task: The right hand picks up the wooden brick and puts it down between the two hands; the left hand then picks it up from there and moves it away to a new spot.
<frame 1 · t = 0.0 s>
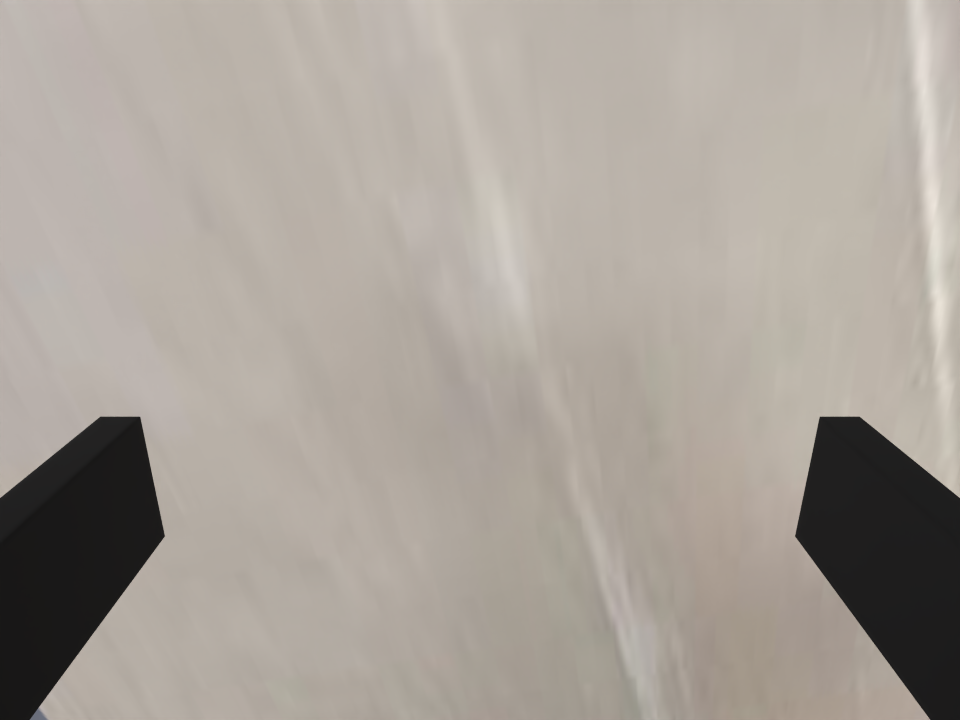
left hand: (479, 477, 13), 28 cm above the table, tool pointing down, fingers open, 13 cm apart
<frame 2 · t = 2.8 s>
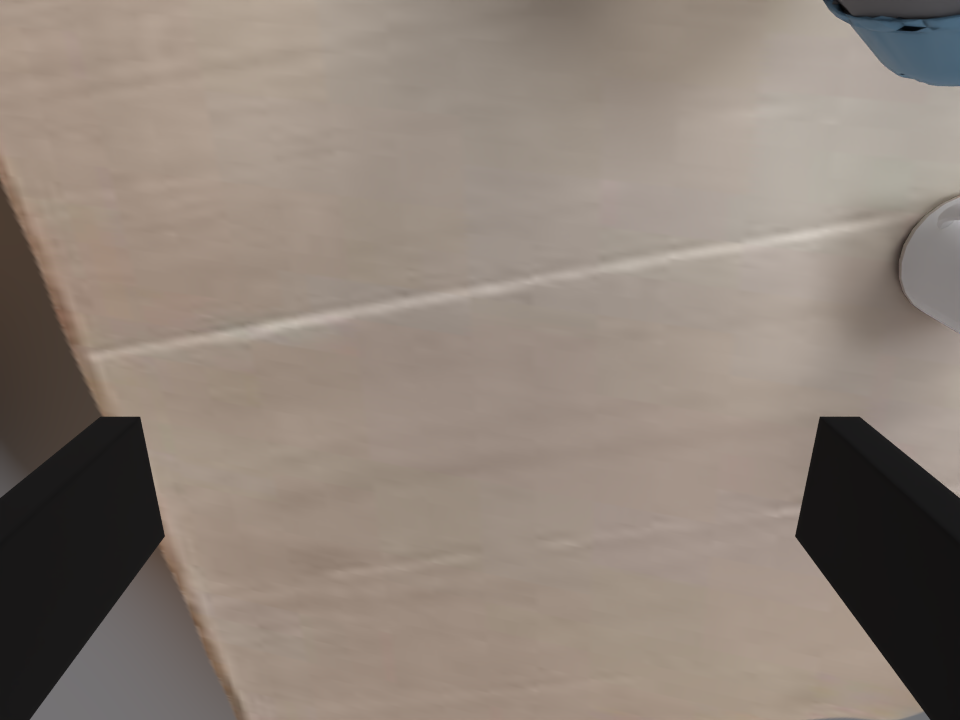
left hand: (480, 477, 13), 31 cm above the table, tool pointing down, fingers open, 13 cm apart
mug: (949, 244, 42), on the table
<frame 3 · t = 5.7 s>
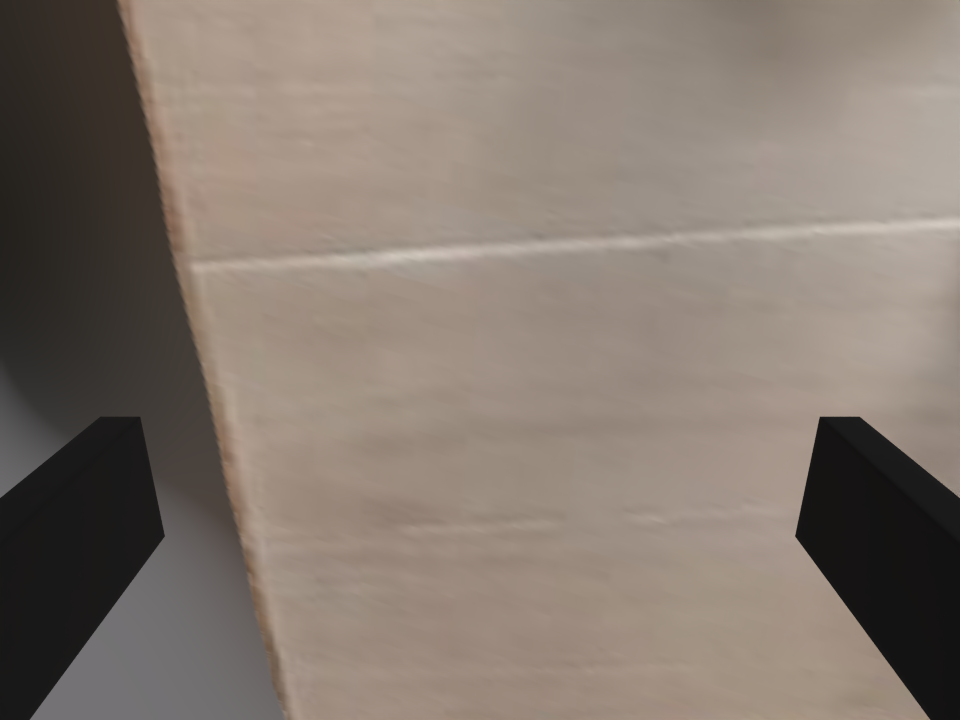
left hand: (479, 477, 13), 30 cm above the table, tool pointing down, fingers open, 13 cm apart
when the right hand's fingers open (3 cm above the table, at t = 8.9 s): brick drops 2 cm, on the table.
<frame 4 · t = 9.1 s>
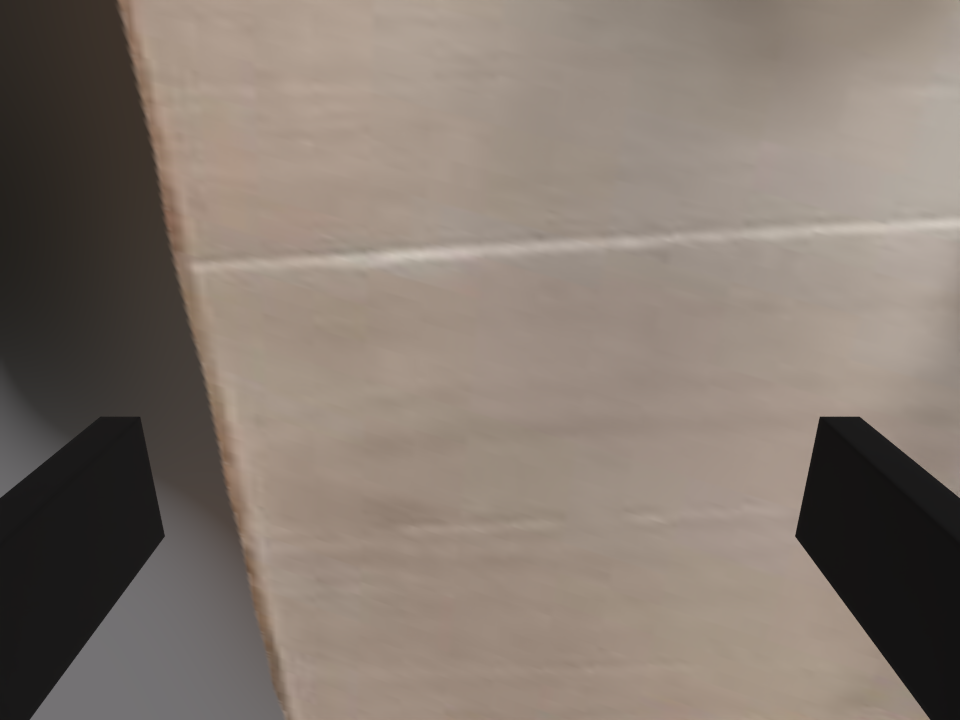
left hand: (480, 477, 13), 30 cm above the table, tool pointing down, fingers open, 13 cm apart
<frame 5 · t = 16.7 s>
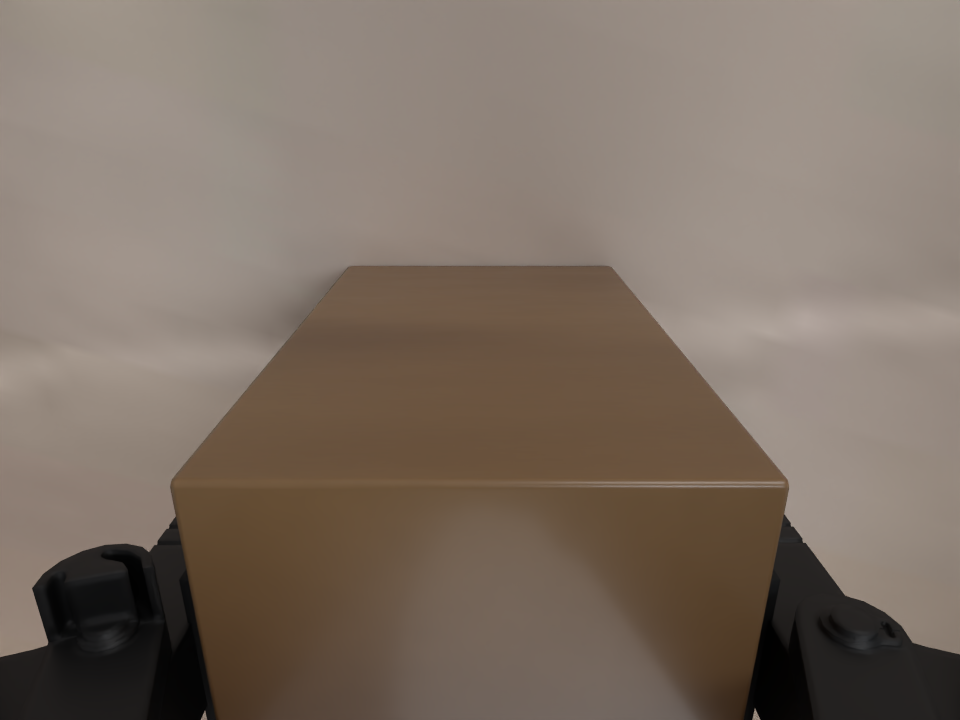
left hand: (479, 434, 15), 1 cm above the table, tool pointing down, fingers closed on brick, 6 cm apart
brick: (480, 406, 16), on the table, touching left hand
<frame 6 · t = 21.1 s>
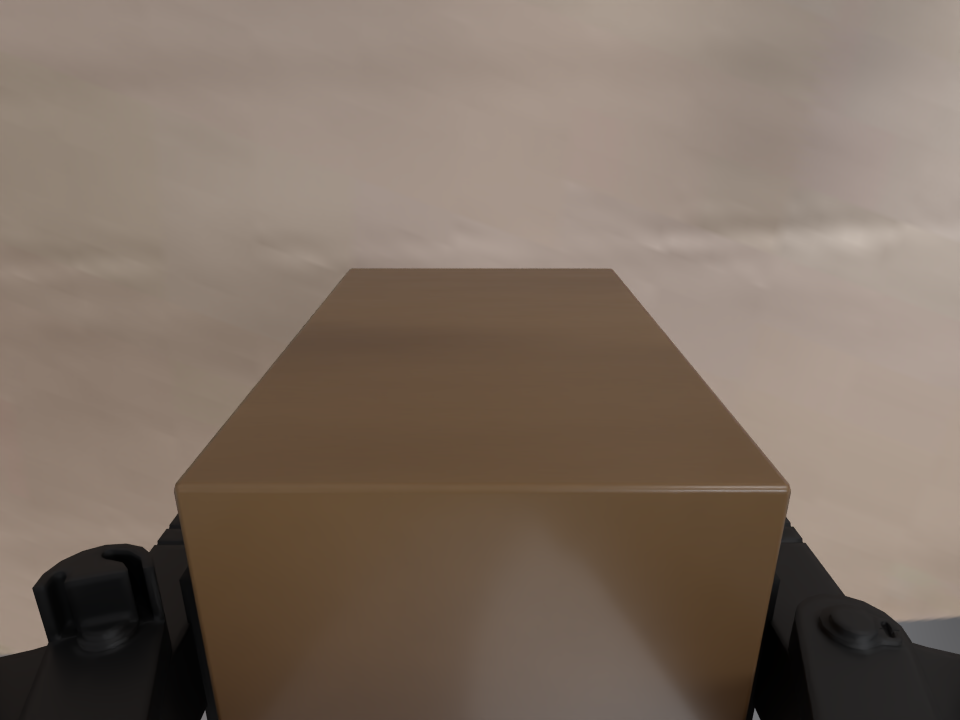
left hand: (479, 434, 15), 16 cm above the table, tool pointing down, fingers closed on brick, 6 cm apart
brick: (481, 408, 16), point 15 cm above the table, touching left hand
when the left hand's fingers open (3 cm above the table, at t = 25.5 s): brick drops 2 cm, on the table.
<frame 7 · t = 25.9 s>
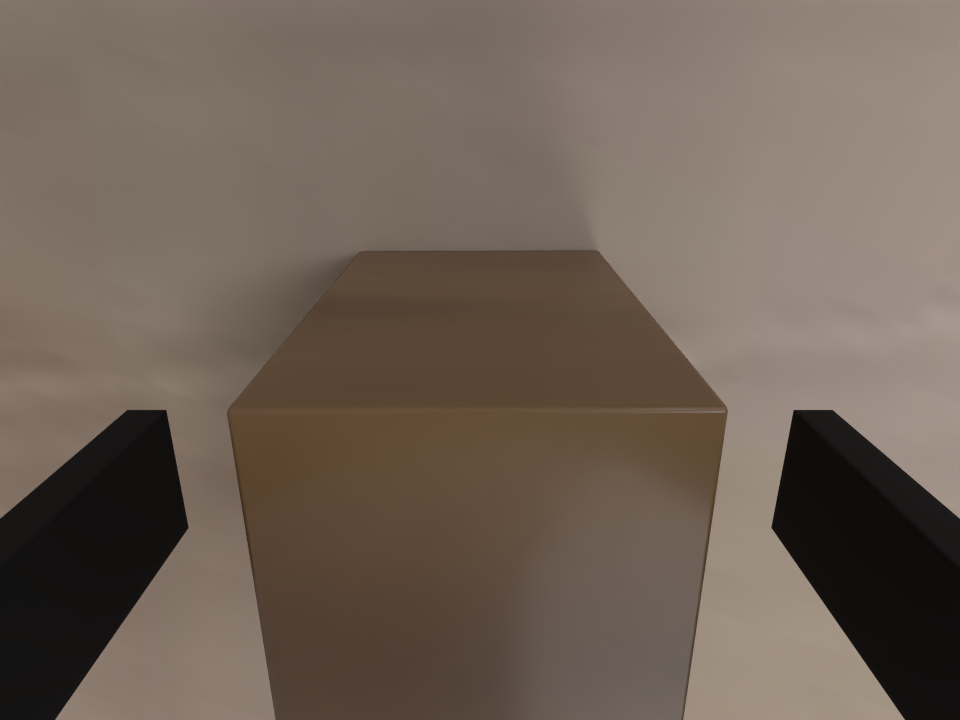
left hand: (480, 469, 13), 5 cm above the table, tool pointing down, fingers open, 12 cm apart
brick: (479, 380, 17), on the table
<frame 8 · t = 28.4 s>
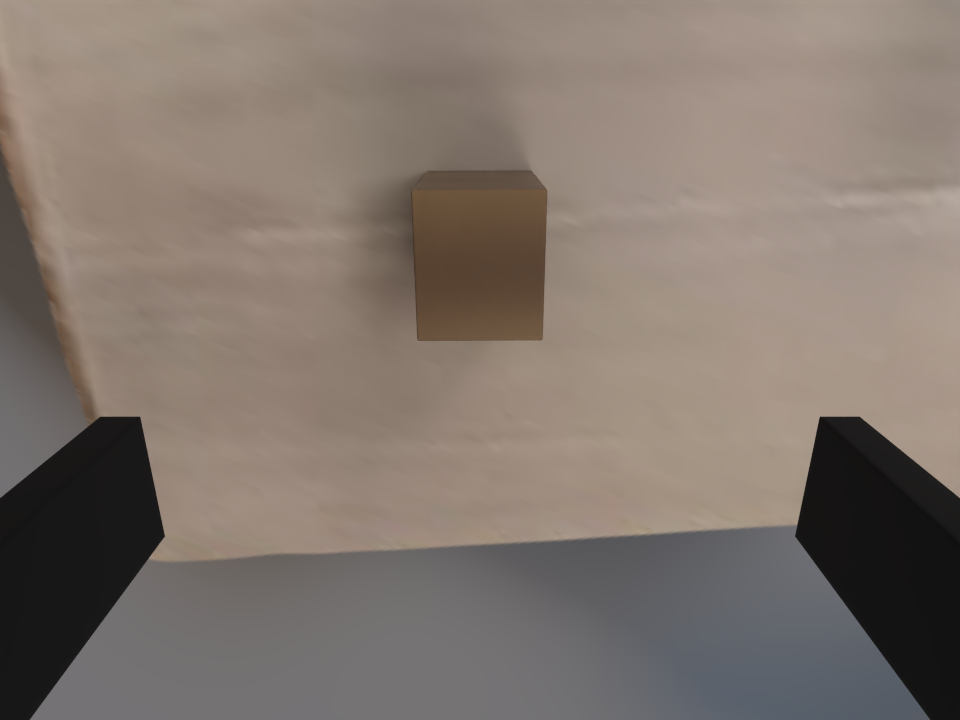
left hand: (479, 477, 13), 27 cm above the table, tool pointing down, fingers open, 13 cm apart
brick: (479, 232, 38), on the table
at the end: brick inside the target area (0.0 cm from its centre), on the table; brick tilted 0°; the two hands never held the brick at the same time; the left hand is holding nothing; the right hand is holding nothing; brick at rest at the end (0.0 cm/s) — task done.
